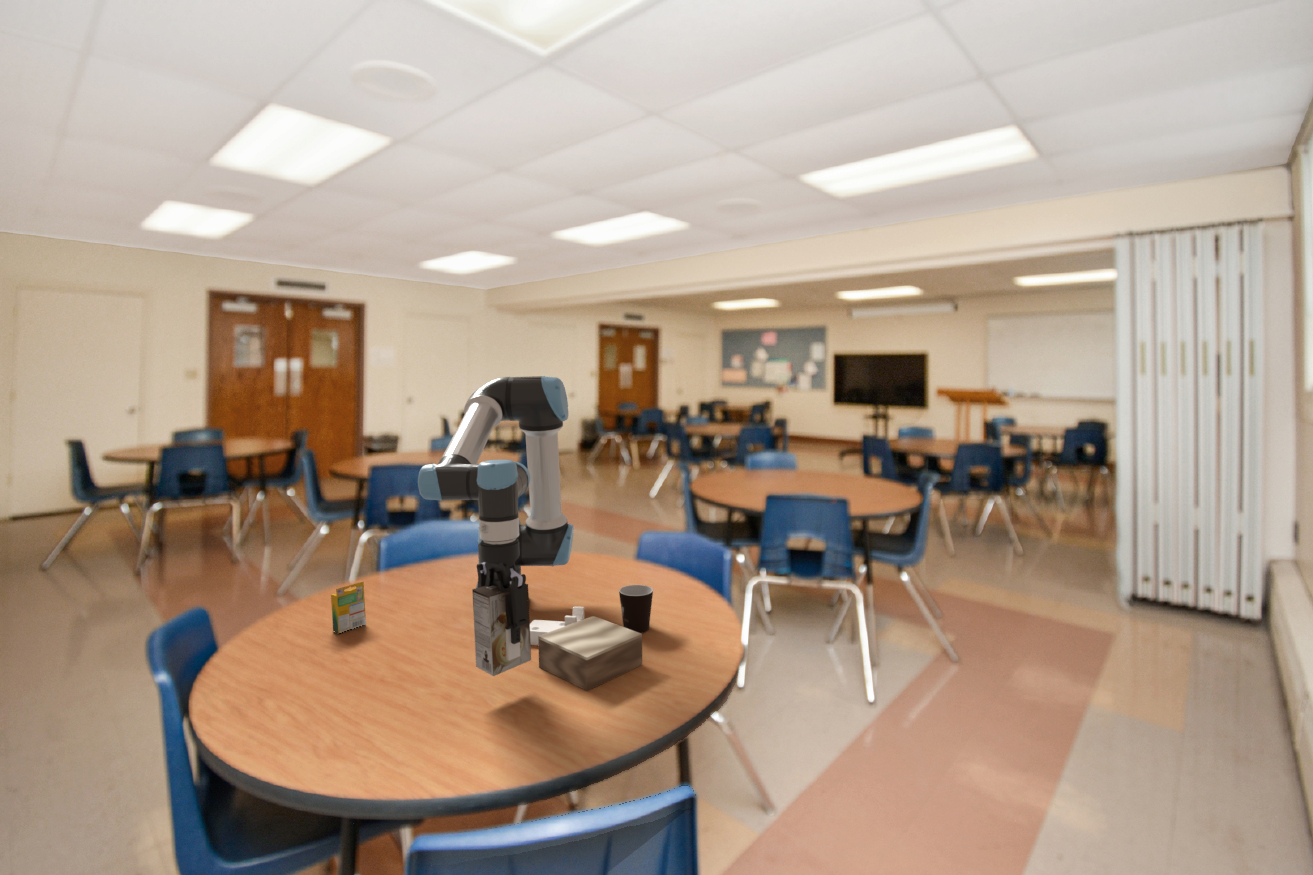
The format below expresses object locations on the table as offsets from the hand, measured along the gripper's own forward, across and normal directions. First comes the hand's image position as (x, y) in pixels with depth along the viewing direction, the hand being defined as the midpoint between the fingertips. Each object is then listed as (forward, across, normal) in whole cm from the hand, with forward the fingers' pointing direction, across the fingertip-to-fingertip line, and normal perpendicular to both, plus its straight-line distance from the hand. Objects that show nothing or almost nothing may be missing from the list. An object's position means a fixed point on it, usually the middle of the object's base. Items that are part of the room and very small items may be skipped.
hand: (503, 652), depth 124 cm
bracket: (+9, -13, +23) cm, 28 cm away
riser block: (+9, +4, +20) cm, 22 cm away
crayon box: (+9, -58, -7) cm, 59 cm away
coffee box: (+3, 0, 0) cm, 3 cm away
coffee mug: (+9, -4, +43) cm, 44 cm away
